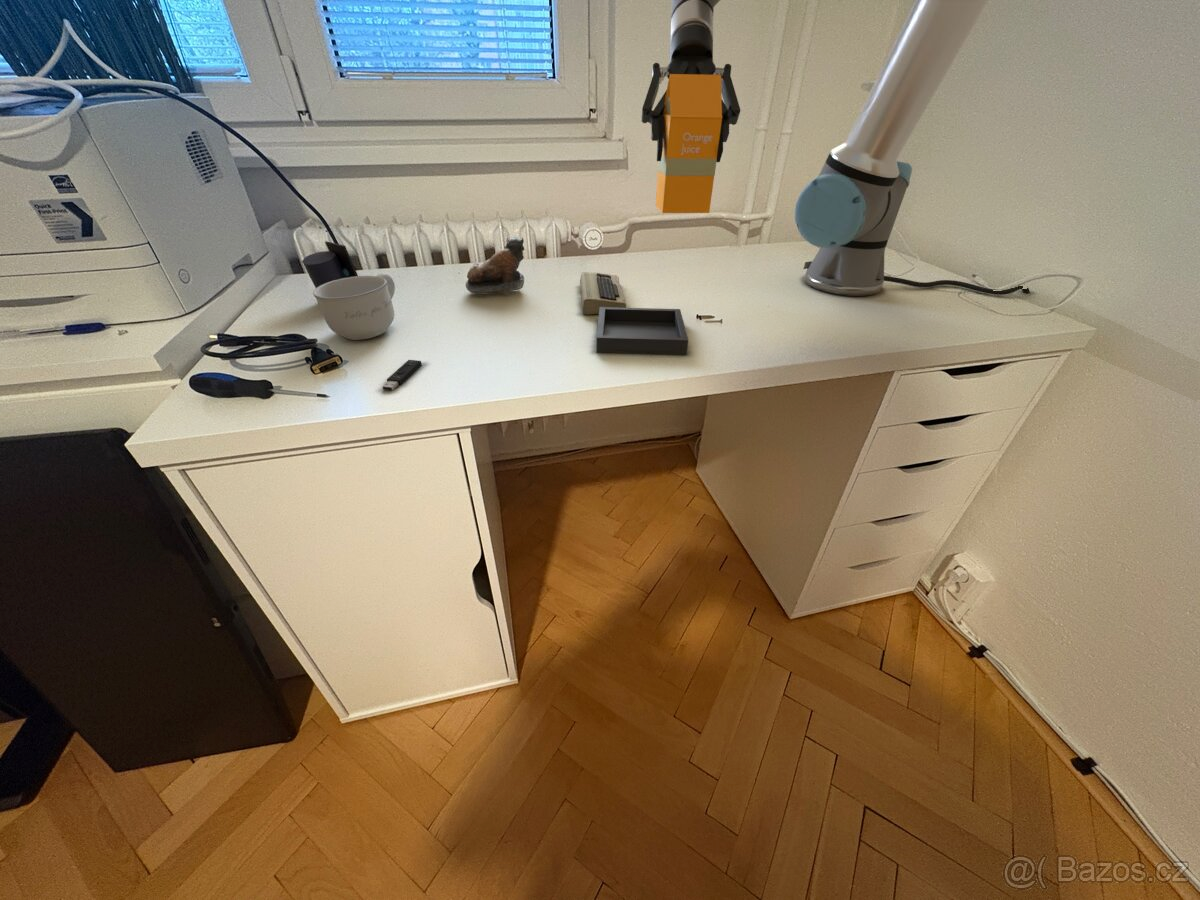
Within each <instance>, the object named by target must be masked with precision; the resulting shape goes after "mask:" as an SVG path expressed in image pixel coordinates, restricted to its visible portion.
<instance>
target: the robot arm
mask: <svg viewBox="0 0 1200 900" xmlns="http://www.w3.org/2000/svg"><path fill="white" fill-rule="evenodd" d="M719 2H721V0H671V7H670V8H671V9H670V11H671V13H670V18H671V19H670V46H669V63H668V65H667V66H660V63H659V62H654V63H653V64H652V72H651V80H650V84H649V86H648V89H647V93H646V96H645V98H644V102H643V104H642V108H641V120H640V121H641V123H643V124H647V123H649V124H650V128H651V129H650V130H651V131H650V133H651V134H650V139H651V141H652V142H657V143H656V162H659V161H661V158H662V151H663V119H664V115H663V112H664V107H665V105H664V103H665V98H666V92H667V89H666V90H665V92H664V93H663V94H662V96H661V98H660V99H659V101H658V102H657V104H656V106H655V107H654V104H655V101H656V98H657V95H658V92H659V88H660V85H662V84H663V82H664V79H665V78H667V79H668V80H669V75H670V74H701V75H721V97H722V98H723V99H722V122H721V130H720V137H719V144H718V152H717V162H716V163H721V159H722V155H723V153H724V143H727V141H728V139H729V135H730V125H732V126H735V125H737V123H738V120H739V118H740V115H741V106H740V104H739V100H738V96H737V93H736V90H735V86H734V83H733V79H732V76H731V74H732V64H730V63H726V64H724V66H723V67H717V66H716V64H715V63H714V10H715V9H714V8H715V6H717V4H718V3H719ZM988 2H989V0H915V1H914V3H913V5H912V6H911V9H910V10H909V13H908V15H907V17H906V19H905V21H904V22H903V25H902V27H901V29H900V30H899V33H898V35H897V37H896V38H895V41H894V43H893V45H892V46H891V49H890V50H889V53H888V55H887V57H886V59H885V61H884V63H883V64H882V67H881V69H880V71H879V72H878V75H877V77H876V79H875V81H874V83H873V85H872V87H871V88H870V91H869V93H868V95H867V97H866V100H865V101H864V103H863V105H862V108H861V109H860V112H859V114H858V115H857V117H856V119H855V122H854V124H853V125H852V128H851V130H850V131H849V134H848V136H847V138H846V140H845V141H844V142H843V143H841V144H839V145H837V146H836V147H833V148H831V150H830V152H829V153H828V156H827V158H826V160H825V162H824V164H823V165H822V168H821V170H820V172H819V174H818V176H817V177H815V178H813V179H812V180H811V181H810V182H809V183H807V185H806V186H805V187H804V188H803V189H802V190H801V192H800V194H799V196H798V198H797V200H796V204H795V208H794V220H795V224H796V227H797V231H798V232H799V234H800V236H801V237H802V239H804V240H805V241H806V242H807V243H809V244H810V245H811V246H814V247H817V248H819V249H818V251H817V253H816V254H815V256H814V258H813V259H812V260H809V261H805V262H804V265H803V270H806V271H805V276H804V279H803V280H804V283H806V284H807V285H808V286H809V287H811V288H813V289H816V290H818V291H821V292H825V293H829V294H834V295H840V296H848V297H865V296H874V295H876V294H879V293H880V292H881V290H882V288H883V285H884V282H889V283H896V284H900V285H901V284H902V285H906V286H910V287H915V288H931V287H937V286H955V287H960V288H965V289H968V290H972V291H976V292H979V293H984V294H988V295H997V296H1004V295H1010V294H1012V293H1015V292H1017V291H1019V290H1021V291H1022V293H1024V294H1031V291H1030V288H1029V287H1028V288H1027V289H1022V288H1023V286H1018V287H1015V288H1012V287H1010V289H1009V288H1006V289H1001V290H1002V291H993V290H997V289H995V288H989V287H985V286H980V285H976V284H973V283H968V282H964V281H960V280H953V279H941V280H940V279H939V280H934V281H928V282H927V281H926V282H925V281H921V282H920V281H916V280H910V279H906V278H901V277H896V276H891V275H889V276H888V275H885V253H886V252H885V251H886V248H887V245H888V242H889V239H890V237H891V234H892V230H893V228H894V225H895V222H896V219H897V217H898V214H899V212H900V209H901V207H902V206H901V205H902V203H903V200H904V197H905V194H906V191H907V189H908V188H909V185H910V183H911V182H910V180H911V177H912V172H913V167H912V165H911V164H910V163H909V162H904V161H899V160H898V158H899V156H900V154H901V153H902V151H903V149H904V147H905V146H906V144H907V142H908V141H909V139H910V137H911V135H912V133H913V132H914V130H915V128H916V127H917V125H918V123H919V122H920V120H921V118H922V116H923V114H924V113H925V112H926V110H927V108H928V106H929V104H930V103H931V101H932V99H933V97H934V95H935V94H936V92H937V90H938V89H939V87H940V86H941V84H942V82H943V80H944V78H945V77H946V75H947V74H948V71H949V69H950V68H951V66H952V65H953V62H954V61H955V59H956V57H958V55H959V52H960V50H961V49H962V47H963V45H964V44H965V42H966V40H967V39H968V37H969V35H970V33H971V32H972V30H973V28H974V26H975V25H976V23H977V21H978V19H979V17H980V16H981V14H982V12H983V11H984V9H985V7H986V5H987V4H988ZM653 107H654V109H653Z"/></svg>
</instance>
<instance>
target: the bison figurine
mask: <svg viewBox="0 0 1200 900" xmlns="http://www.w3.org/2000/svg"><path fill="white" fill-rule="evenodd" d="M505 240H506V241H505V242H506V244H505V246H504V248H503V249H502V248H501V249H499V250H498V251H496V252H495V253H494V254H493V255H492V256H491V257H490V258H489V259H487V260H485V261H483V263H482V264H479V263H478V262H475V263H473V265H472V266H471V267H470V268H469V270H468V271H467V275H466V277H467V280H466V282H465V288H466V290H467V291H468V292H469V293H471V294H479V295H496V294H505V293H509V292H513V291H519V290H521V289H523V288H524V284H525V277H524V274H523V273H521V272H520V271H519V270H518V269H519V266H520V263H521V262H522V260H523V259H524V252H523V251H525V247H524V242H525V241H524V238H523V237H521V239H520V238H519V237H517V236H516V237H511V238H508V237H507V238H506V239H505Z"/></svg>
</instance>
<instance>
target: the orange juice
mask: <svg viewBox="0 0 1200 900" xmlns="http://www.w3.org/2000/svg"><path fill="white" fill-rule="evenodd" d="M666 90H667V92H666V91H665V92H666V98H665V103H664V105H665V107H664V112H663V115H664V119H663V151H662V158H661V161H657V164H658V165H657V179H656V180H657V181H656V195H655V207H657V209H658V210H659V211H660V212H661V213H662V214H710V210H711V203H712V195H713V189H714V188H713V187H714V183H715V182H714V180H715V175H716V169H717V168H716V167H717V163H718V162H717V152H718V144H719V137H720V130H721V122H722V100H723V99H722V98H723V96H722V92H721V75H701V74H670V75H669V79H668V82H667V87H666Z"/></svg>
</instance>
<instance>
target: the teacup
mask: <svg viewBox="0 0 1200 900" xmlns="http://www.w3.org/2000/svg"><path fill="white" fill-rule="evenodd" d="M395 292H396V284H395V281H394V280H393V278H392V277H391V275H389V274H388V273H379V274H377V275H358V276H354V277H349V278H342V279H338V280H334V281H331V282H328V283H325V284H323V285H320V286H319V287H317V288H314V290H312V295H313V296H314V298H315V299H316V301H317V302H316V303H317V305H318V307H319V309H320V312H321V314H322V316H323V318H324V321H325V323H326V325H327V326H328V328H329V329H330V330H331V331H332V332H333V333H335V334H337V335H339V336H342V337H343V338H344V339H345V338H346V339H347V340H352V341H353V340H354V341H357V340H358V341H359V340H361V341H362V340H368V339H372V338H376V337H378V336H381V335H382V334H384V333H386V332H387V330H388V329H389V327H390V326H391V325H392V323H393V322H394V319H395V310H394V304H393V300H392V299H393V297H394V295H395Z"/></svg>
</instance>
